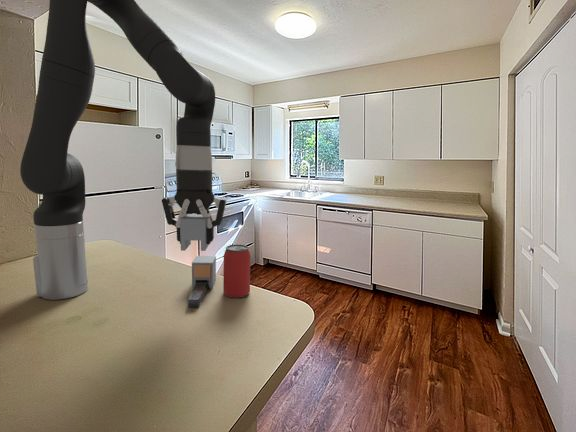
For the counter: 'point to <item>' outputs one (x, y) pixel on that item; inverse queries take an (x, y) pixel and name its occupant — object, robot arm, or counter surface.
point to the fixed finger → (204, 270)
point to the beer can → (236, 271)
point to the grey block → (193, 231)
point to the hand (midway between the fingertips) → (195, 242)
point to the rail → (198, 293)
